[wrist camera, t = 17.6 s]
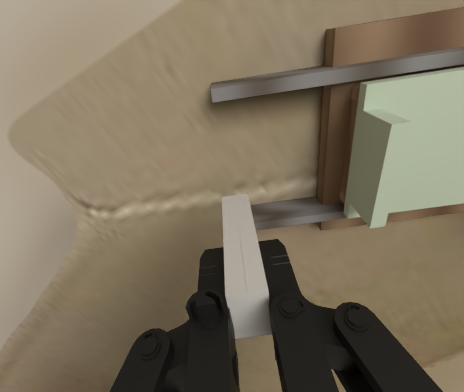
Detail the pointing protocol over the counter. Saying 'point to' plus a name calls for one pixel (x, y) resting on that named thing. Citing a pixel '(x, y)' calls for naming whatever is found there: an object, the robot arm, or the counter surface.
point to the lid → (407, 146)
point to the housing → (353, 103)
